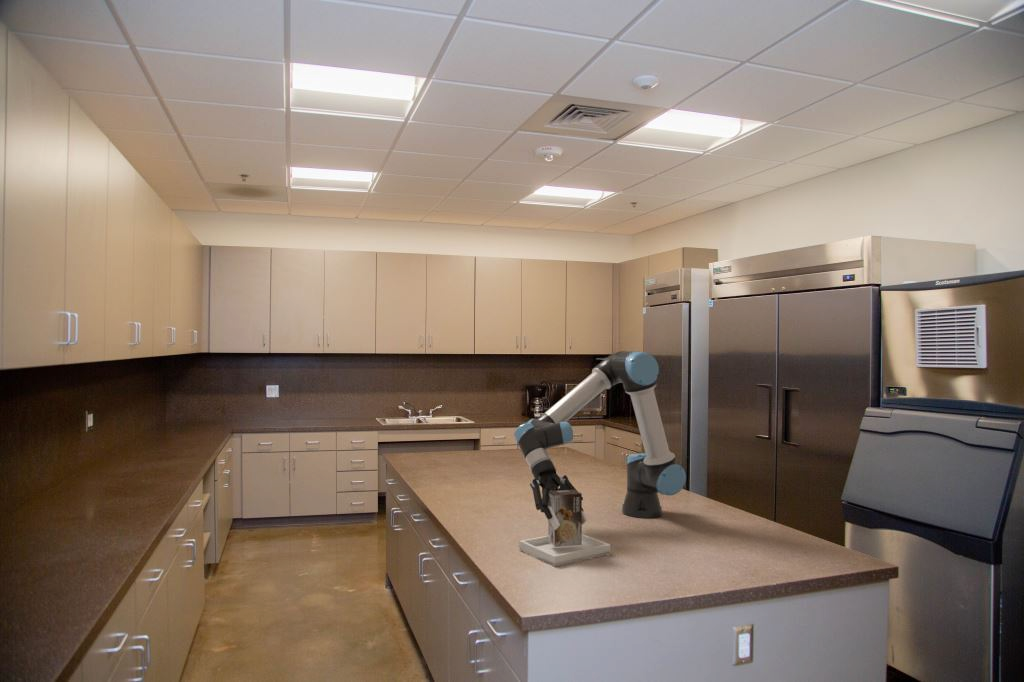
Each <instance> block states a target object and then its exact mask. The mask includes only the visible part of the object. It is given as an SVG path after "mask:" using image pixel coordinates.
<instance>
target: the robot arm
mask: <svg viewBox="0 0 1024 682" xmlns="http://www.w3.org/2000/svg"><path fill="white" fill-rule="evenodd" d="M659 368H660V367H659V364H658V362H657V360H656V359H655V357H654V356H653V355H651V354H650V353H647V352H644V351H639V350H637V351H631V350H630V351H625V350H620V351H617V352H614V353H612V354H611V355H609V356H608V357H606V358H605V359H603V360H601V361H600V363H598V364H597V365H596V366H595V367H593V368H592V371H591V373H590V374H589V375H588V376H587V377H586V378H585V379H584V380H582V381H581V382H579V384H577V385H576V386H575V387H574V388H572V389H571V390H570V391H569V392H567V394H565V395H564V396H563V397H561V399H559V400H558V401H557V402H556V403H555V404H553V405H552V406H551V407H549V408H548V409H547V410H546V411H545V412H544V413H543V414H542V415H540V416H538V418H531V419H530V420H528V421H527V422H525V423H522V424H520V425H519V426H517V428H516V429H515V430H514V438H515V441H516V443H517V445H518V447H519V449H520V451H521V453H522V455H523V457H524V459H525V461H526V463H527V465H528V468H529V469H530V472H531V474H532V476H533V479H532V481H531V482H530V483H529V486H530V487H531V490H532V494H533V499H534V504H535V509H536V511H539V510H540V512H541V513H544V515H545V517H546V519H547V520H548V519H549V520H550V522H551V524H552V526H553V528H554V530H556V529H557V528H558V527H559V526H560V523H559V521H558V519H557V517H556V515H555V513H554V511H553V509H552V507H551V506H550V507H549V508H548V504H549V492H548V491H556V490H576V491H578V490H577V489H576V488H575V486H574V485H573V484H572V483H571V482H570V480H569V478H568V476H567V475H566V474H564V475H563V476H559V475H558V474H557V468H556V466H555V465H554V462H553V461H552V460H551V459H552V458H551V457H550V455H549V453H548V451H547V450H548V449H551V448H555V447H559V446H564V445H567V444H570V443H571V442H572V441H573V439H574V430H573V427H572V424H570V423H569V422H568V421H569V420H570V419H571V418H572V417H573V416H575V415H576V414H577V413H578V412H579V411H580V410H581V409H583V408H584V407H585V406H586V405H587V404H589V403H590V402H591V401H592V400H594V399H595V398H596V397H597V396H598V395H600V394H601V393H602V392H603V391H605V390H606V389H607V390H610V389H611V388H613V386H615V385H618V384H620V383H622V385H623V389H624V392H625V393H626V394H628V395H629V396H630V399H631V403H632V407H633V411H634V415H635V418H636V422H637V427H638V430H639V434H640V438H641V441H642V445H643V450H644V452H642V453H631V454H629V455H628V456H627V461H626V468H627V469H626V470H627V471H626V473H627V474H626V475H627V476H626V495H625V497H624V501H623V504H622V506H621V508H622V509H621V512H622V513H623V514H624V515H626V516H629V517H633V518H642V519H643V518H644V519H648V518H658V517H661V516H662V515H663V507H662V506H661V501H660V498H659V495H658V494H660V495H664V496H670V497H672V496H675V495H677V494H679V493H680V492H681V491H682V490H683V488H684V486H685V484H686V481H687V474H686V471H685V469H684V467H683V466H681V464H678V463H677V458H676V455H675V453H674V452H671V451H670V447H669V444H668V441H667V437H666V432H665V428H664V426H663V421H662V417H661V413H660V410H659V406H658V402H657V398H656V394H655V391H654V390H655V388H656V386H657V381H656V380H657V378H658V375H659V373H660V371H659V370H660V369H659ZM540 487H541V488H540ZM583 500H584V497H583V496H582V501H583ZM584 512H585V511H584V509H583V507H582V526H583V525H584V524H585V523H586V522H587V521H588V519H587V517H586V514H585V513H584Z"/></svg>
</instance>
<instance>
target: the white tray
mask: <svg viewBox="0 0 1024 682" xmlns="http://www.w3.org/2000/svg"><path fill="white" fill-rule="evenodd" d="M518 543H519V544H518V550H520V551H519V552H521V551H523V552H525V553H524V554H526V553H527V554H526V555H528V554H529V555H528V556H530V555H531V556H530V557H532V556H533V557H532V558H534V557H535V558H534V559H536V558H537V559H536V560H538V559H539V561H540V560H541V561H540V562H543V561H544V562H543V563H545V562H546V563H545V564H547V563H548V564H547V565H549V564H550V565H549V566H551V565H552V566H551V567H553V566H554V567H553V568H555V567H556V566H557V567H560V565H561V566H565V565H564V564H566V565H569V563H570V564H574V563H578V562H577V561H579V562H582V561H581V560H583V561H587V560H586V559H588V560H591V559H590V558H592V559H596V558H595V557H597V558H600V557H599V556H601V557H604V555H605V556H608V555H607V554H610V555H611V550H612V549H611V548H612V547H611V543H607V542H605V541H602V540H600V539H597V538H593V537H592V536H590V535H586V534H584V533H582V545H574V546H561V547H554V546H553V545H552V544H551V543H550V542H549V541H548V535H544V536H537V537H533V538H527V539H523V540H519V541H518ZM523 552H522V553H523ZM573 562H574V563H573Z"/></svg>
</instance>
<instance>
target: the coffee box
mask: <svg viewBox="0 0 1024 682" xmlns="http://www.w3.org/2000/svg"><path fill="white" fill-rule="evenodd" d="M576 490H577V489H576ZM576 490H556V491H548V492H549V504H548V508H549V507H550V506H551V507H552V509H553V511H554V513H555V515H556V517H557V519H558V521H559V523H560V526H559V527H558V528H557V529H556V530H554V528H553V526H552V524H551V522H550V520H549V519H547V520H548V521H547V523H548V524H547V525H548V526H547V527H548V529H547V530H548V531H547V534H548V535H547V536H548V541H549V542H550V543H551V544H552V545H553V546H554V547H561V546H574V545H582V534H583V533H582V531H583V529H582V528H583V525H582V508H583V506H582V505H583V504H582V503H583V502H582V501H583V500H582V497H583V496H582V495H583V494H582V492H579V491H578V490H577V491H576Z"/></svg>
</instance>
